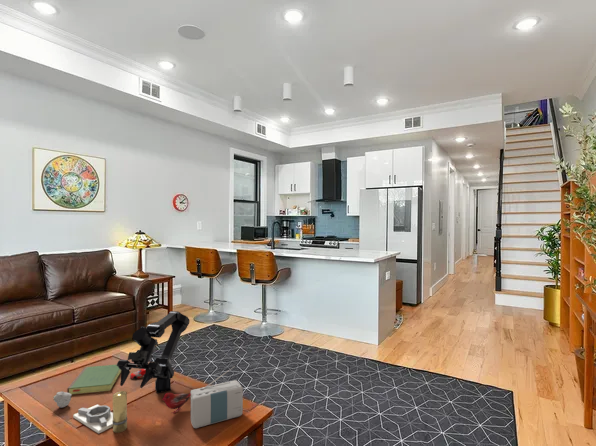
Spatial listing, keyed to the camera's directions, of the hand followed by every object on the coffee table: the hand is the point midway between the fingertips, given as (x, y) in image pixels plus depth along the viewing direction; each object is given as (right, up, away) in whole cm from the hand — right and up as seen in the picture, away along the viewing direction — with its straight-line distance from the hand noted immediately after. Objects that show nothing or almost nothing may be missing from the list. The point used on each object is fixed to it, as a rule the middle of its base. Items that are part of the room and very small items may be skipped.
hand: (130, 386), depth 149 cm
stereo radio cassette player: (+36, -14, 0) cm, 39 cm away
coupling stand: (-13, -13, -1) cm, 19 cm away
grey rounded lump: (-34, -13, +9) cm, 38 cm away
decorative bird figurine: (+19, -14, +7) cm, 24 cm away
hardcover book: (-33, -13, +33) cm, 48 cm away
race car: (-12, -13, +40) cm, 44 cm away
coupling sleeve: (-1, -14, -7) cm, 15 cm away
